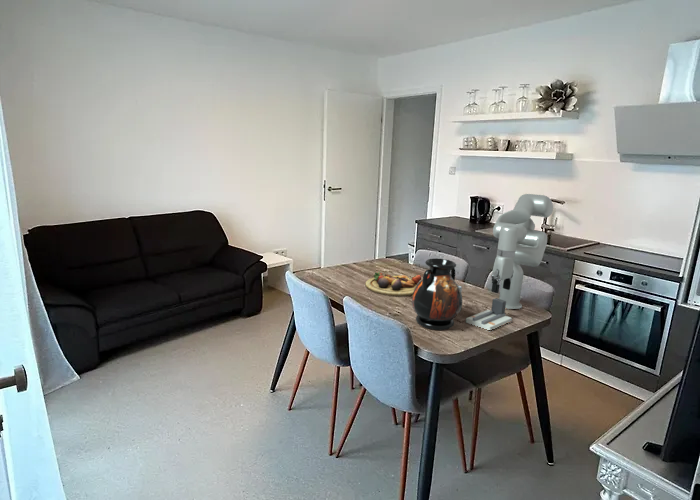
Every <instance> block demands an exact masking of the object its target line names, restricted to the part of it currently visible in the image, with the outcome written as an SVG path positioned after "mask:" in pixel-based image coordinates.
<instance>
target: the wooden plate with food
mask: <svg viewBox="0 0 700 500" xmlns="http://www.w3.org/2000/svg"><path fill="white" fill-rule="evenodd" d="M421 279H422V276H421V275H420V274H416V275H414V276H412V277H411V278H409V276H407V275H405V274H404V275H403V274H402V275H390V274H388V273H385V274H384V275H383V273H382V272H381V271H377V272H375V273H374V275H373V277H371V278H369V279H367V280H366V281H365V285H364V286H365V288H366V289H367V290H369V291H370V292H372V293H375V294H378V295H382V296H389V297H410V296H411V297H412V295H413V292H414V289H415V287H416V285H417V284H418V282H419V281H420V280H421Z"/></svg>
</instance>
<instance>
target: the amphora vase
mask: <svg viewBox="0 0 700 500" xmlns="http://www.w3.org/2000/svg"><path fill="white" fill-rule="evenodd" d="M424 263H425V265H426V266H428V267H429V269H426V270H425V271H424V272H423V275H422V278H421V280H420V281H419V282H418V284H417V285H416V287H415V289H414V292H413V295H412V296H411V305H412V309H413V311H414V313H416V317H415V321H416V322H417V324H418V325H419V326H421V327H424V328H425V329H429V330H437V331H442V330H443V331H445V330H448V329H451V328H453V326H454V324H455V321H454V320H455V319H457V317H458V316H459V314H461V312H462V308H463V296H462V295H463V294H462V291H460V288H459V286H460V285H459V284H458V283H456V281H455V280H456V269H455V268H456V267H457V264H456V262H454V261H452V260H450V259H446V258H428V259H426V260H425V262H424Z"/></svg>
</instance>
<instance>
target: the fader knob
mask: <svg viewBox="0 0 700 500" xmlns="http://www.w3.org/2000/svg"><path fill="white" fill-rule="evenodd" d="M505 307H506V301H504V300H501V299H499V297H498V298H496V297H495V298H493V299H492V303H491V310H490V311H494V314H495V315H498V314H503V313H506V309H505Z"/></svg>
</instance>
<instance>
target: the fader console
mask: <svg viewBox="0 0 700 500" xmlns="http://www.w3.org/2000/svg"><path fill="white" fill-rule="evenodd" d="M512 319H513V318H512V317H510V316H508V315H507V314H506V312H505V313H503V314H498V315H495V314H494V311H491V310H490V309H486V310H483V311H482V312H479V313H476V314H473V315H471V316H468V317H465V324H469V325H471V324H472V325H471V326H474V325H475V326H474V327H477V326H478V327H477V328H479V327H481V328H480V329H482V328H484V329H487V330H492V329H495V328H497V327H499V326H501V325H503V324H505V323H507V322H510V321H511V322H512ZM511 322H510V323H511ZM501 327H502V326H501ZM499 328H500V327H499ZM484 329H483V330H484ZM497 329H498V328H497ZM487 330H486V331H487ZM495 330H496V329H495ZM492 331H493V330H492Z"/></svg>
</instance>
